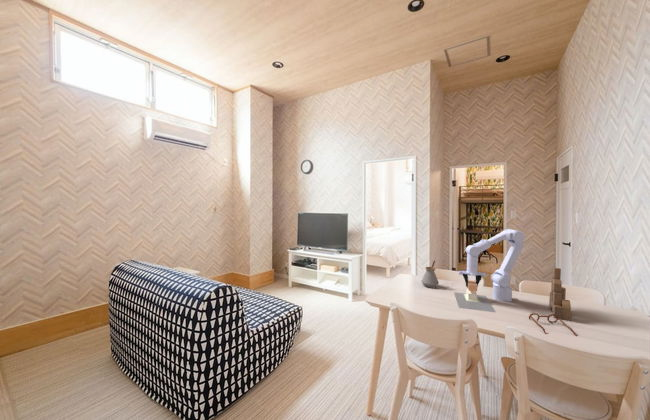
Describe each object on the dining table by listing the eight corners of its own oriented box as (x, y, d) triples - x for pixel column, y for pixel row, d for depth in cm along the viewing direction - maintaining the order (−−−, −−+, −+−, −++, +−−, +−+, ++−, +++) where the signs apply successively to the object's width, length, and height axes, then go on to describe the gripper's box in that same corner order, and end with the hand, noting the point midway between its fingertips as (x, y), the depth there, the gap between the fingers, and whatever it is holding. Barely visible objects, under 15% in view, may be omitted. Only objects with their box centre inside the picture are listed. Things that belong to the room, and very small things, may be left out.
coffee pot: (436, 289, 179) (437, 268, 178) (419, 286, 185) (419, 265, 184) (442, 281, 196) (442, 261, 195) (426, 278, 203) (426, 259, 202)
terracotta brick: (474, 286, 164) (474, 280, 164) (477, 291, 157) (477, 284, 157) (466, 286, 166) (466, 279, 166) (468, 290, 158) (468, 284, 158)
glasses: (556, 323, 133) (557, 313, 133) (577, 337, 120) (577, 326, 120) (528, 321, 135) (528, 312, 135) (545, 335, 122) (545, 324, 122)
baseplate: (485, 297, 165) (485, 295, 165) (495, 314, 142) (495, 312, 142) (453, 293, 171) (453, 292, 171) (458, 309, 149) (459, 307, 149)
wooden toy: (571, 321, 134) (573, 273, 132) (554, 318, 137) (556, 271, 136) (564, 309, 147) (566, 265, 145) (548, 307, 150) (550, 264, 149)
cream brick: (474, 295, 165) (474, 289, 165) (476, 300, 157) (476, 294, 157) (466, 295, 166) (466, 288, 166) (468, 299, 159) (468, 293, 159)
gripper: (459, 265, 159) (459, 287, 160) (487, 268, 154) (486, 290, 155) (458, 263, 166) (457, 284, 167) (484, 264, 161) (483, 286, 162)
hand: (471, 287), depth 161 cm, fingers closed on terracotta brick, 4 cm apart
